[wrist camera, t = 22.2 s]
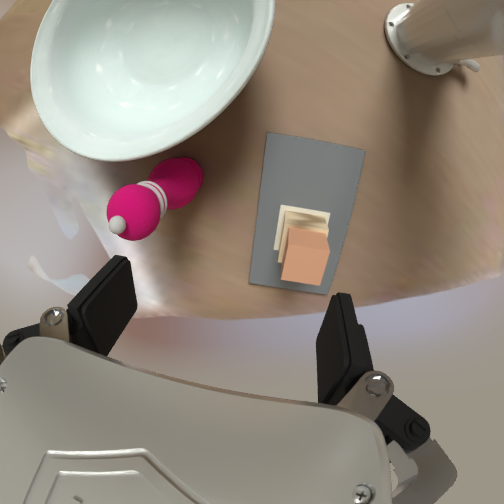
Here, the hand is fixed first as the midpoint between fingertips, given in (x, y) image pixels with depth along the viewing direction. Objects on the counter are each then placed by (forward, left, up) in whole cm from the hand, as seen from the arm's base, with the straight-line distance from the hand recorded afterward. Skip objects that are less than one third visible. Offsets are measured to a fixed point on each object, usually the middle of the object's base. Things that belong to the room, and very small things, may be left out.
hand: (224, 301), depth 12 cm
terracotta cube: (-6, +9, -24) cm, 26 cm away
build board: (-6, +8, -30) cm, 32 cm away
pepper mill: (+13, +3, -31) cm, 33 cm away
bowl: (+17, -18, -31) cm, 39 cm away
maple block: (-6, +9, -29) cm, 31 cm away
